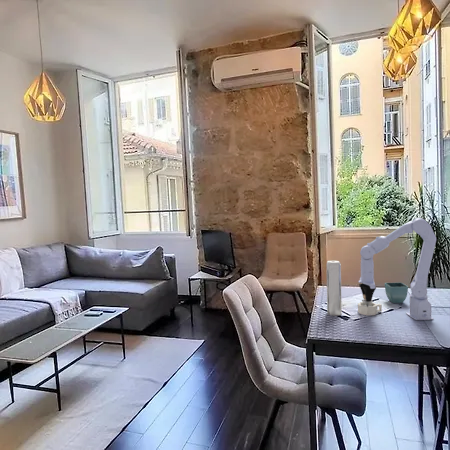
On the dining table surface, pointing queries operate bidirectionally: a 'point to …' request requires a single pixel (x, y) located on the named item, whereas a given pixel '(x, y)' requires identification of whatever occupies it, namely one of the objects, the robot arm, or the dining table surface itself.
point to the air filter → (334, 288)
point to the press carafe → (369, 308)
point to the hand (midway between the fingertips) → (367, 300)
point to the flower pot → (396, 292)
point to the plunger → (366, 301)
